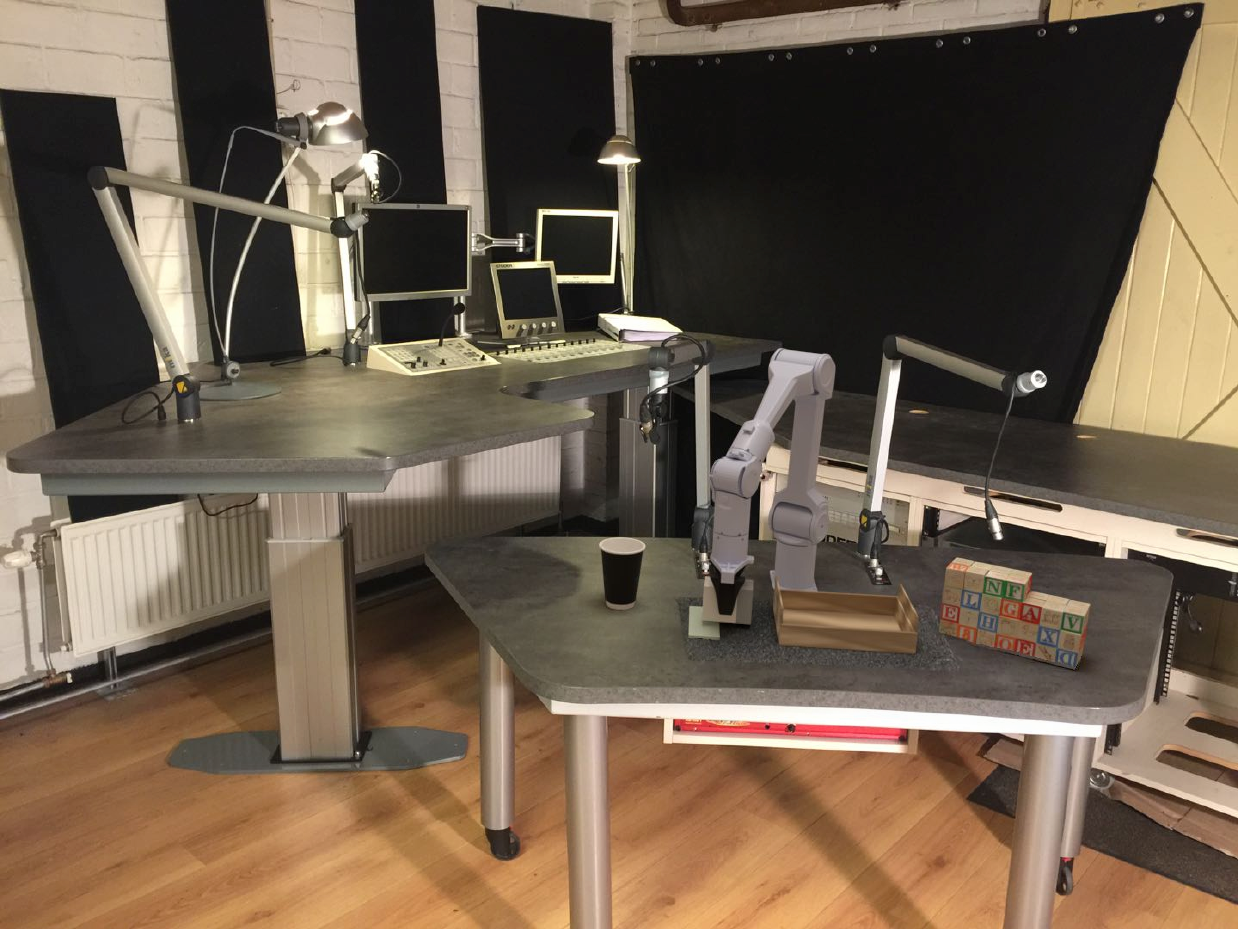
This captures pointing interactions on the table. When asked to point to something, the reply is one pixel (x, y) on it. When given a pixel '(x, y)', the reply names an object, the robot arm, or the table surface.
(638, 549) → the dixie cup
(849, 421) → the table surface
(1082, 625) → the stack of blocks
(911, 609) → the wooden crate
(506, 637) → the table surface
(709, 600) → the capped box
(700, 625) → the panel
